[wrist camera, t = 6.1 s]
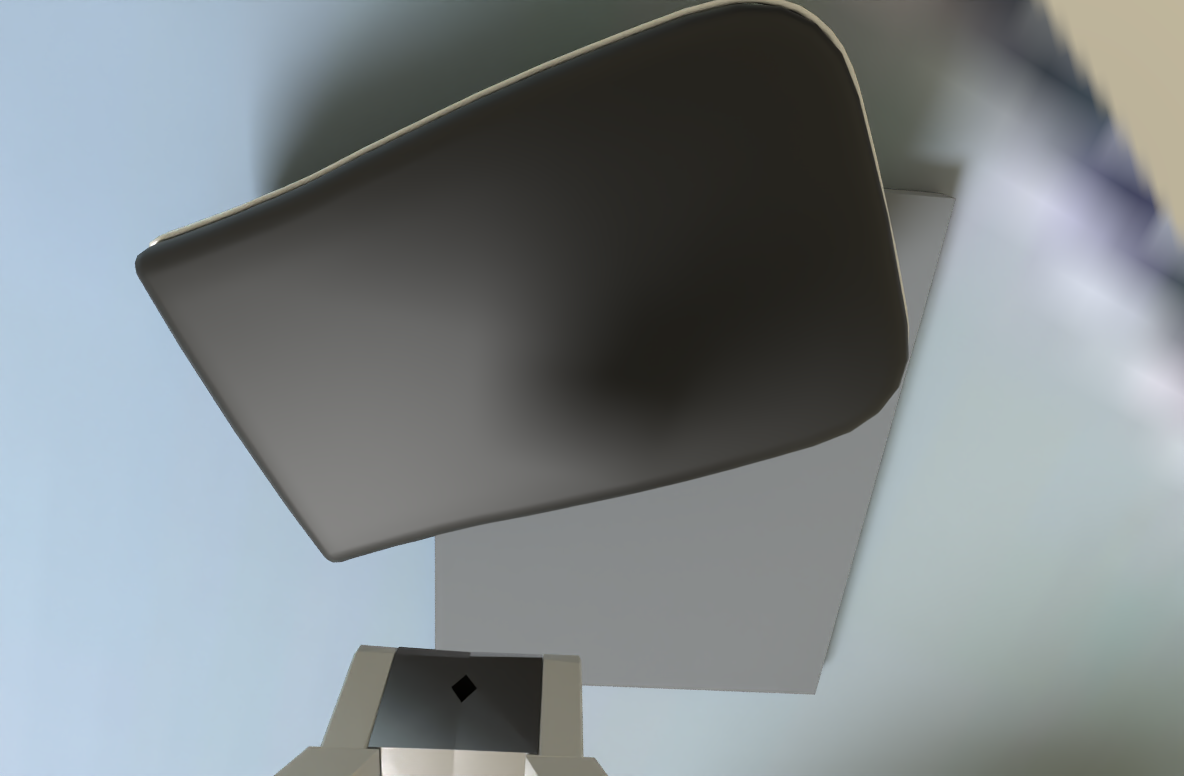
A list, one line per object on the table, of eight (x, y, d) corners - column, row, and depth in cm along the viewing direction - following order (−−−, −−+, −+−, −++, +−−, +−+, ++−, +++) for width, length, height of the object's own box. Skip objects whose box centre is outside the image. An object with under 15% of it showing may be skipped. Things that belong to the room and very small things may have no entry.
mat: (438, 662, 19) (435, 679, 19) (440, 150, 14) (434, 153, 14) (807, 677, 20) (814, 694, 20) (941, 193, 15) (955, 198, 14)
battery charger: (392, 473, 18) (884, 334, 15) (323, 584, 14) (943, 431, 11) (230, 196, 15) (797, -44, 12) (98, 251, 11) (842, -64, 9)
